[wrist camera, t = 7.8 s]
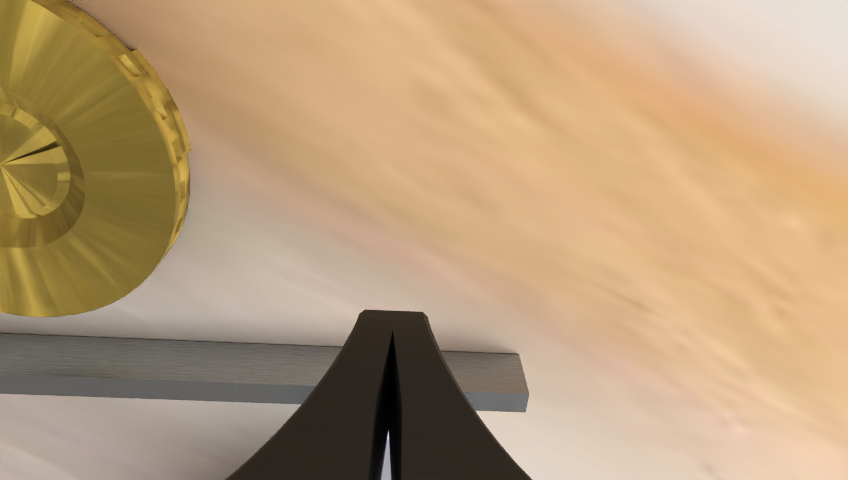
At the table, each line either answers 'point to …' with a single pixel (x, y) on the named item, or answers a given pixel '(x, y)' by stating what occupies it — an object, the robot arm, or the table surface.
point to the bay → (217, 370)
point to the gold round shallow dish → (82, 163)
